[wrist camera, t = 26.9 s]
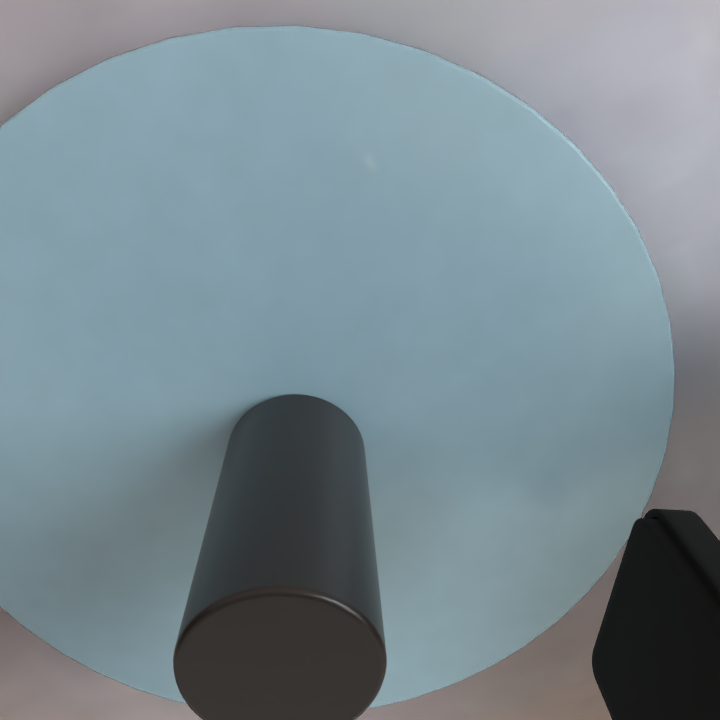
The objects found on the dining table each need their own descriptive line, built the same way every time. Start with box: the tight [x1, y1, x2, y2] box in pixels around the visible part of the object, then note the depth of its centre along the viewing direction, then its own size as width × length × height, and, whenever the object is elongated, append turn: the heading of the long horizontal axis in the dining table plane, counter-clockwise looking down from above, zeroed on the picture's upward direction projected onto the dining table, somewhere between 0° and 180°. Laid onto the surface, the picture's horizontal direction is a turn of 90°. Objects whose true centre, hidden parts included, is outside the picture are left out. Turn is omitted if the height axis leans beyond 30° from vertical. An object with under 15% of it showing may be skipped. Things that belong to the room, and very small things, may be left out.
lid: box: [0, 26, 675, 720], centre depth 11 cm, size 15×15×6 cm
